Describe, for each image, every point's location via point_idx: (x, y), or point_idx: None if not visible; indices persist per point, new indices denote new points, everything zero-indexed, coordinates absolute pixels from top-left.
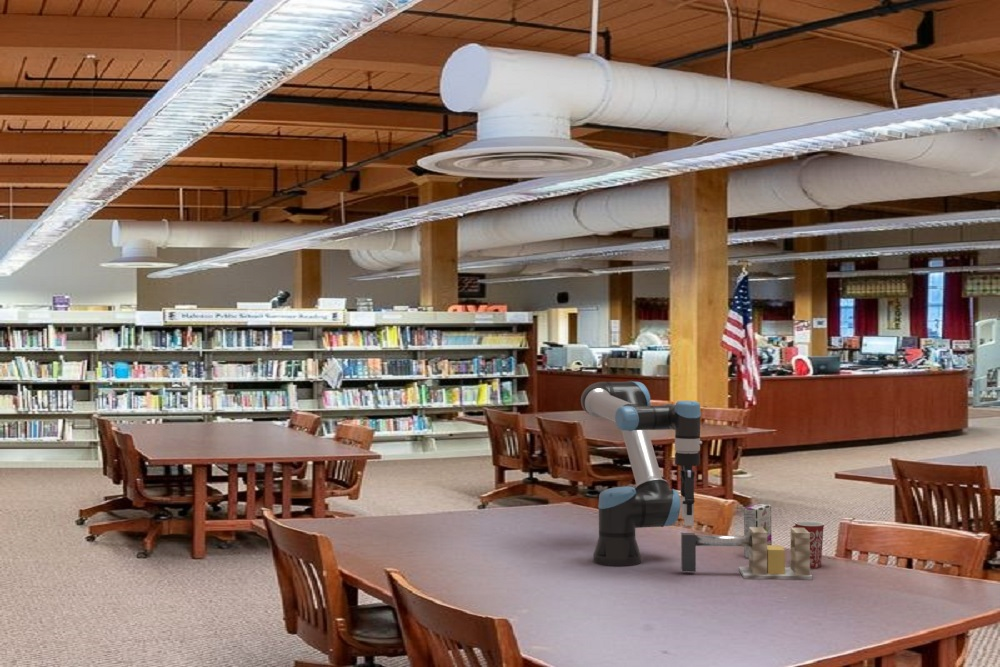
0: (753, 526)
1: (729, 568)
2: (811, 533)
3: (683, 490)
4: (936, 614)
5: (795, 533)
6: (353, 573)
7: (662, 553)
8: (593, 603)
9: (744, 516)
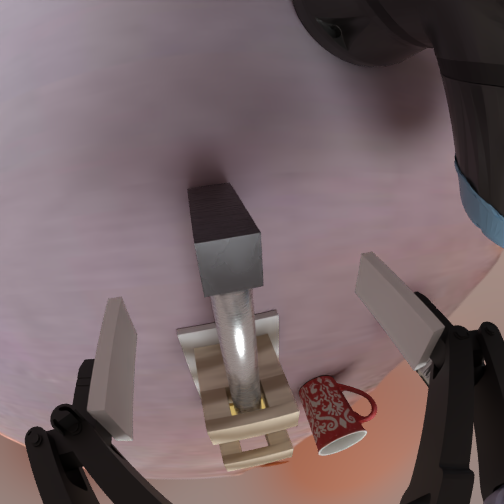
0: None
1: (294, 291)
2: (315, 440)
3: (443, 384)
4: None
5: (231, 461)
6: None
7: (449, 138)
8: None
9: None
